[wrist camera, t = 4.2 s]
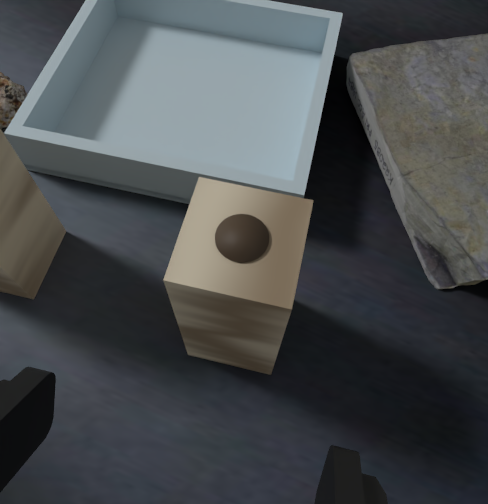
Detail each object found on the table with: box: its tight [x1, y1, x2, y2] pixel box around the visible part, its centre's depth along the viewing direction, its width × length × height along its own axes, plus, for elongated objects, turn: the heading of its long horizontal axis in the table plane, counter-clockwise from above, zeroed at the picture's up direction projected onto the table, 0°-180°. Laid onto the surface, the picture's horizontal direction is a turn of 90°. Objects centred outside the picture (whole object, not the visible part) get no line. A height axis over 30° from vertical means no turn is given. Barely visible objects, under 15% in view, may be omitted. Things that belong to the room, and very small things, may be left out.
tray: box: [4, 0, 343, 204], centre depth 32 cm, size 18×16×4 cm
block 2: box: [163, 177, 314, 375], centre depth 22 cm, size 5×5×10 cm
